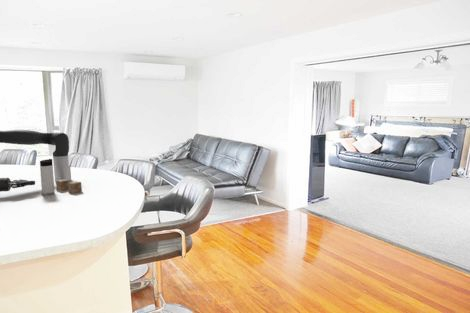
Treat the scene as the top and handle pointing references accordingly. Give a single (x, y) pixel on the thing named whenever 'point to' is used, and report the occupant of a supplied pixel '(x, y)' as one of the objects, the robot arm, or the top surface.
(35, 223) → the top surface
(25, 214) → the top surface
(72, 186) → the walnut block one
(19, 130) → the robot arm
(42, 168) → the travel mug
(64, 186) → the walnut block two
